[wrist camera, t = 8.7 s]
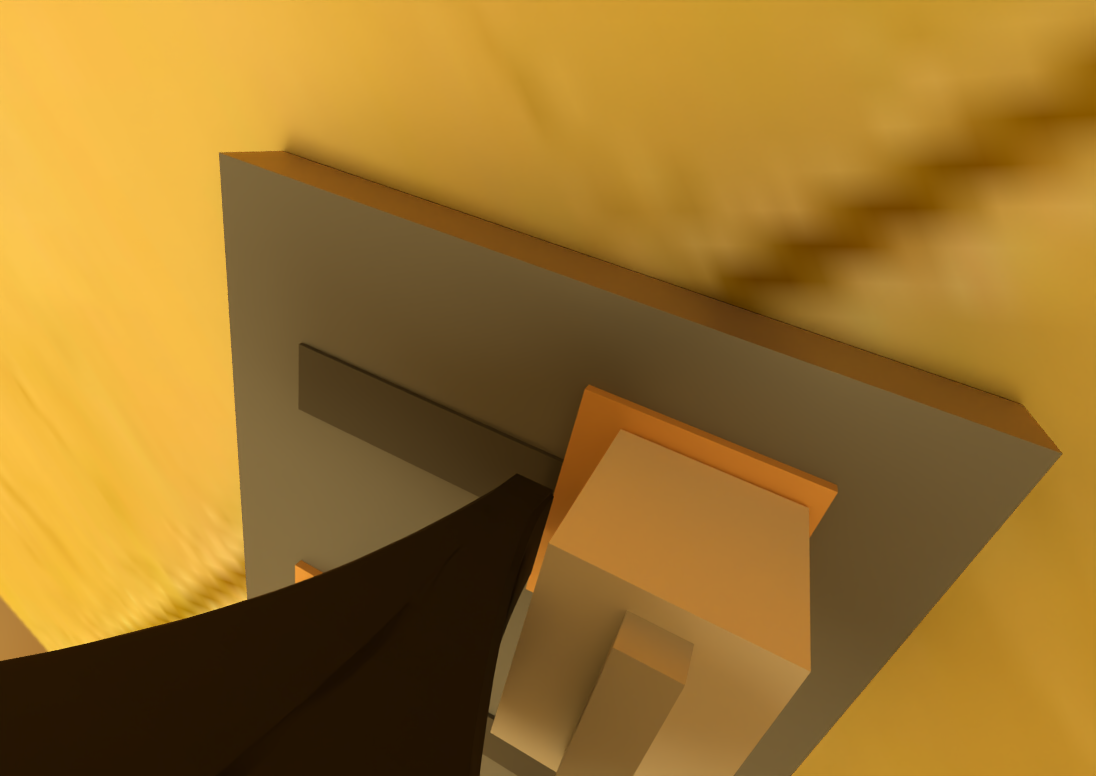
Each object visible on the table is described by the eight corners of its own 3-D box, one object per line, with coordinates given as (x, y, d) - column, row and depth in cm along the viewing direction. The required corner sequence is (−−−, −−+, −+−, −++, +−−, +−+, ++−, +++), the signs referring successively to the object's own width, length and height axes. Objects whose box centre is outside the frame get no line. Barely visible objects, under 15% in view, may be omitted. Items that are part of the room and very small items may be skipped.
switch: (808, 507, 8) (811, 719, 5) (711, 671, 10) (672, 893, 7) (620, 428, 9) (528, 574, 6) (562, 595, 11) (472, 767, 8)
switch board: (1021, 404, 8) (1068, 461, 7) (596, 967, 20) (579, 1032, 18) (282, 151, 12) (208, 152, 10) (289, 756, 23) (255, 796, 22)
